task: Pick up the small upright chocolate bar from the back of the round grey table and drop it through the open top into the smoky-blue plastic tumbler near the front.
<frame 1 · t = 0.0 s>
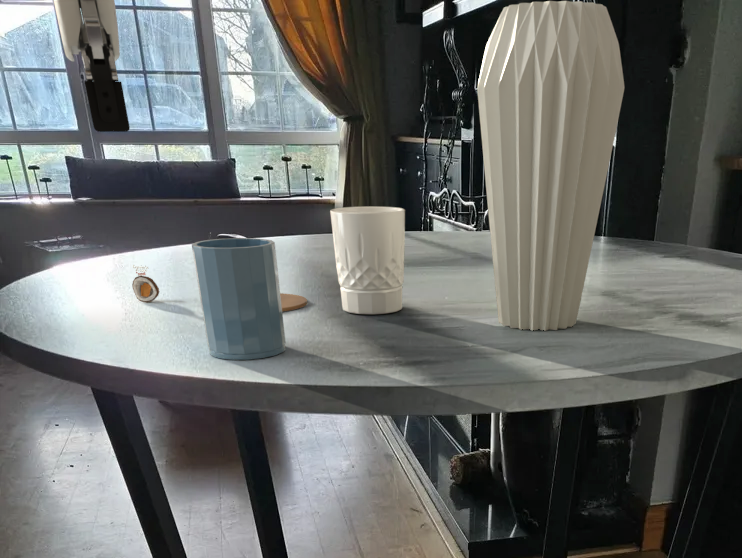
hand: (111, 131, 78), 17 cm above the table, tool pointing down, fingers open, 9 cm apart
cork coaster: (263, 304, 89), on the table
white cup: (372, 310, 87), on the table
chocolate: (150, 302, 91), on the table
vase: (536, 324, 81), on the table
tumbler: (247, 350, 71), on the table
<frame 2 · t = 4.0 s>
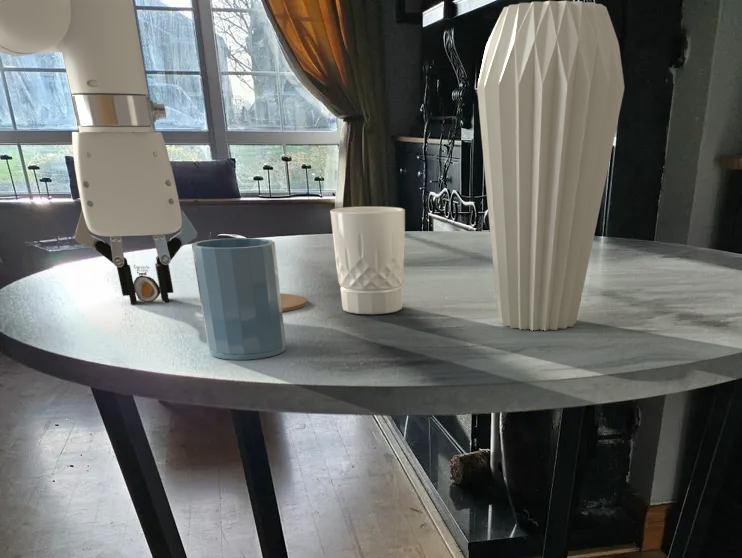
hand: (149, 299, 91), 0 cm above the table, tool pointing down, fingers closed on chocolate, 3 cm apart
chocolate: (151, 302, 91), on the table, touching gripper
everything else where it was.
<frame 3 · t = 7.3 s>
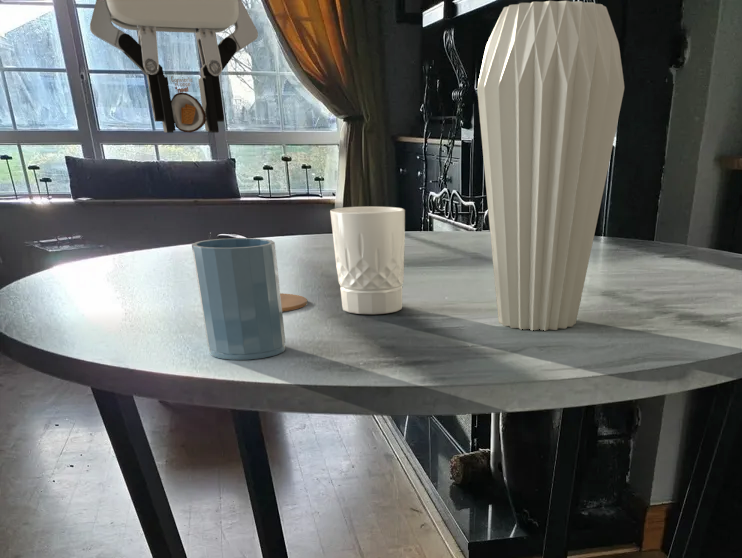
hand: (190, 130, 66), 17 cm above the table, tool pointing down, fingers closed on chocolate, 3 cm apart
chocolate: (194, 135, 67), point 17 cm above the table, touching gripper
everything else where it was.
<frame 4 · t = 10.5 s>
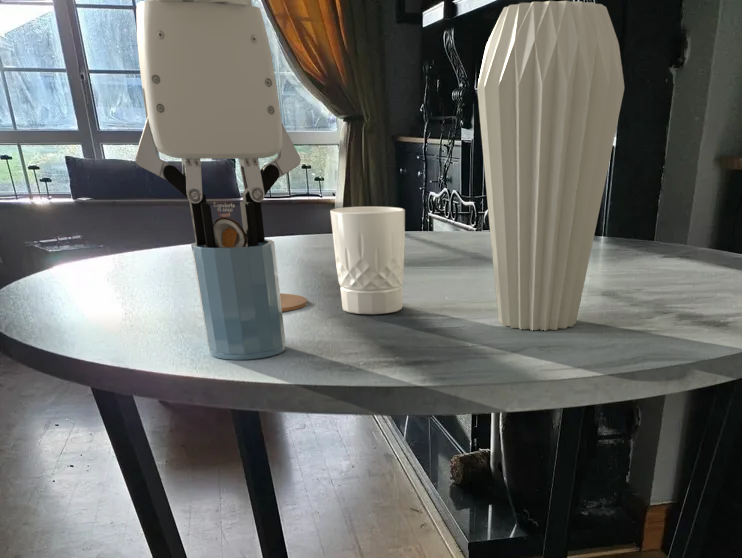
hand: (231, 251, 67), 8 cm above the table, tool pointing down, fingers closed on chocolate, 3 cm apart
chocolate: (234, 256, 67), point 8 cm above the table, touching gripper
tumbler: (247, 350, 71), on the table, touching gripper
everything else where it was.
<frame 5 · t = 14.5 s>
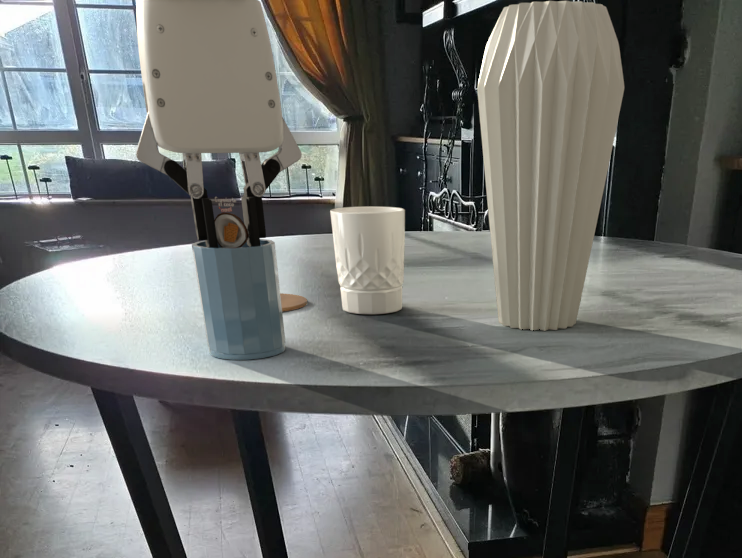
hand: (232, 246, 66), 9 cm above the table, tool pointing down, fingers closed on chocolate, 2 cm apart
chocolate: (236, 251, 67), point 8 cm above the table, touching gripper
tumbler: (247, 350, 71), on the table
everything else where it was.
when the fingers open (11 cm above the table, at t = 18.1 s): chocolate drops 10 cm, resting on tumbler.
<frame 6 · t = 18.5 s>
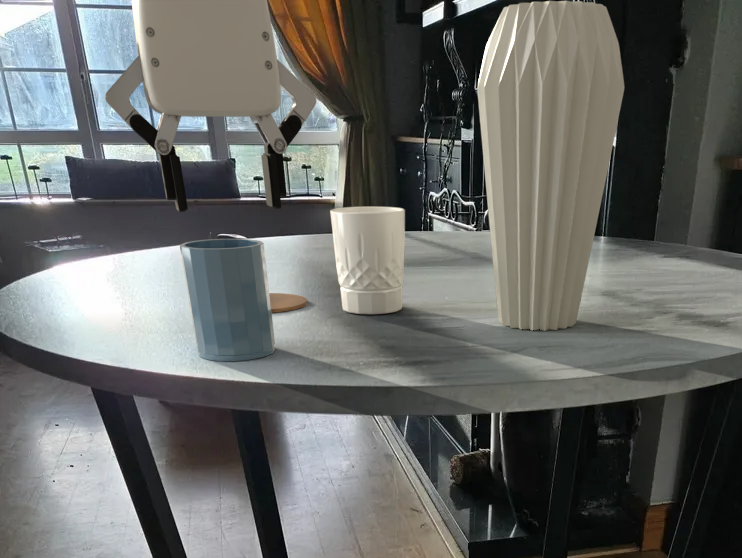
hand: (228, 207, 65), 12 cm above the table, tool pointing down, fingers open, 7 cm apart
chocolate: (232, 346, 70), resting on tumbler
tumbler: (237, 351, 71), on the table, touching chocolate
everything else where it was.
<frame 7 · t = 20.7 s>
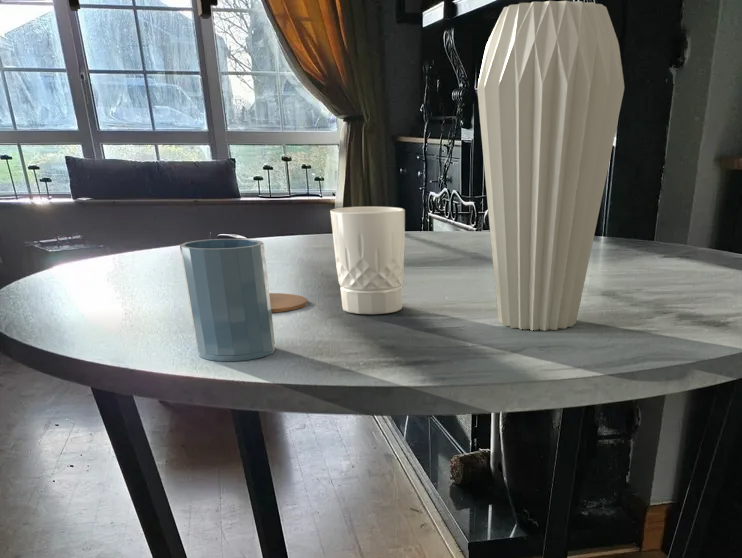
hand: (141, 13, 61), 25 cm above the table, tool pointing down, fingers open, 9 cm apart
nothing on the table moved.
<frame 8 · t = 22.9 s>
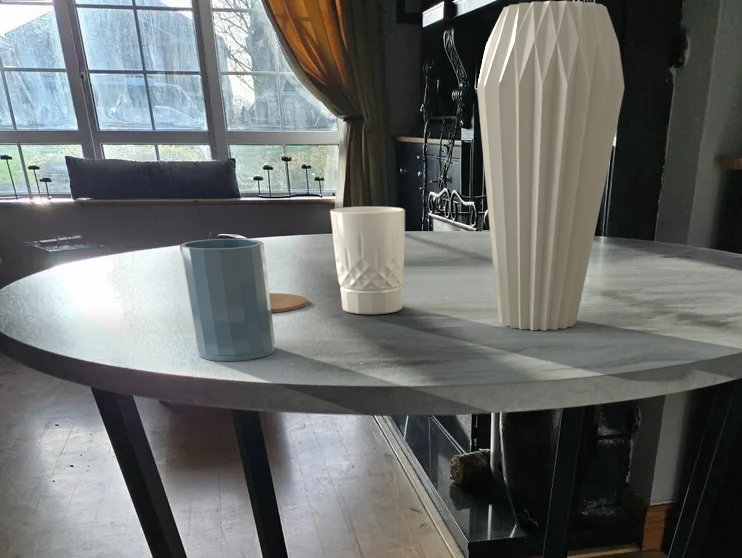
nothing on the table moved.
at the end: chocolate 0.3 cm off-centre in the tumbler, point 0.3 cm above the tumbler's base; tumbler tilted 0°; the gripper is holding nothing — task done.
